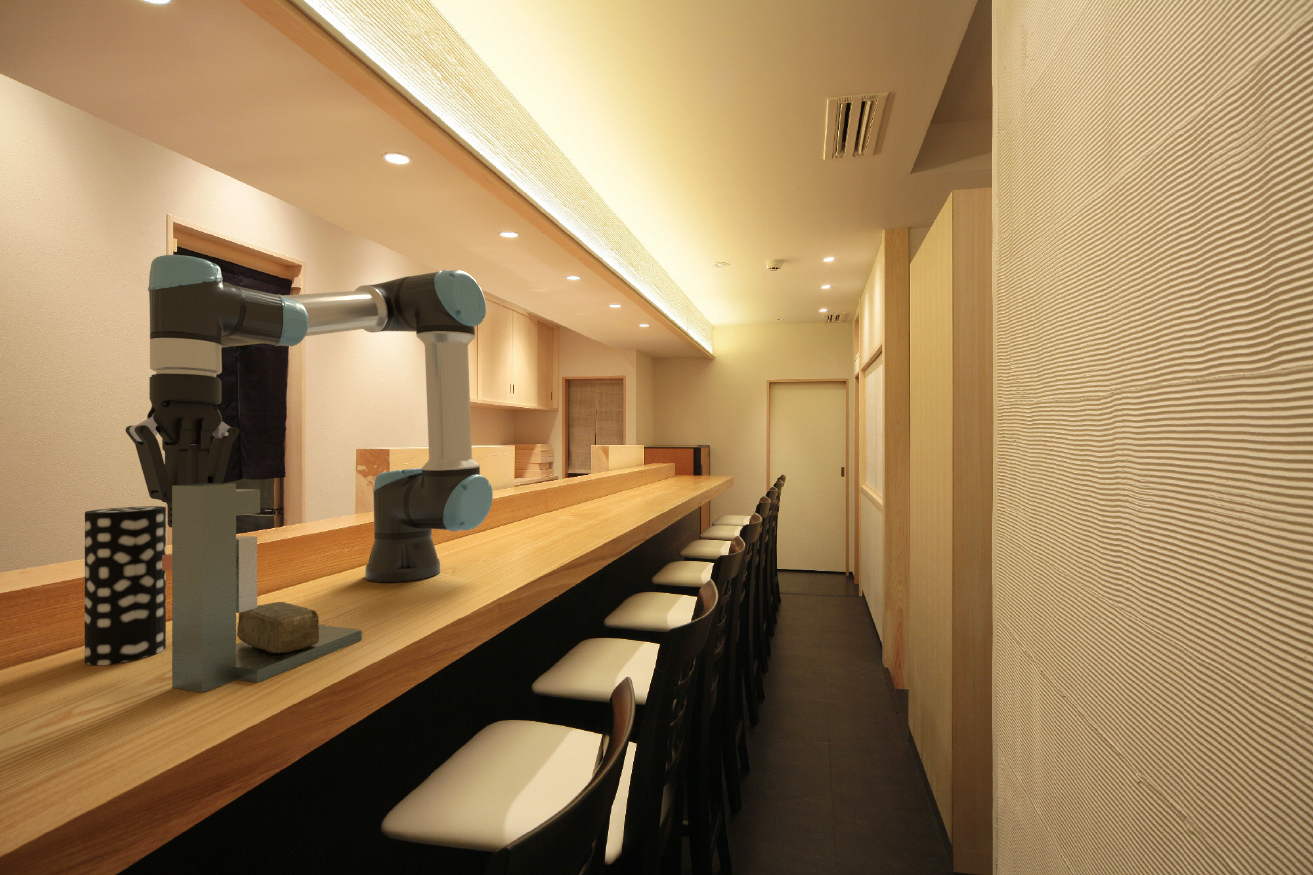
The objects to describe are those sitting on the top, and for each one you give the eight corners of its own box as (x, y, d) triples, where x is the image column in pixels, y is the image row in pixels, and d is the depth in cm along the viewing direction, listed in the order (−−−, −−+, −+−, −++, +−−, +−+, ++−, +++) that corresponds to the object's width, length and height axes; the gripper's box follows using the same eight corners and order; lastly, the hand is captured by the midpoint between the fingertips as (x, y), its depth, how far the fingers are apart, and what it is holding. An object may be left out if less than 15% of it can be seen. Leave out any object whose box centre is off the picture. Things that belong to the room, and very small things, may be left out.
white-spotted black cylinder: (139, 663, 77) (139, 512, 77) (66, 667, 76) (67, 513, 76) (179, 642, 85) (179, 505, 86) (115, 645, 84) (115, 507, 84)
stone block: (277, 658, 74) (277, 619, 74) (233, 644, 80) (233, 607, 80) (323, 645, 79) (323, 608, 79) (279, 632, 85) (278, 598, 85)
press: (299, 632, 89) (299, 475, 90) (361, 639, 86) (361, 476, 86) (151, 684, 70) (152, 485, 71) (223, 696, 67) (223, 486, 67)
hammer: (191, 599, 80) (191, 532, 80) (261, 606, 76) (261, 535, 76) (162, 606, 77) (162, 536, 77) (234, 614, 73) (234, 540, 73)
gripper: (216, 380, 86) (216, 541, 85) (109, 370, 73) (109, 558, 73) (254, 378, 83) (254, 544, 83) (150, 367, 71) (150, 562, 71)
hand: (186, 550), depth 78 cm, fingers closed
